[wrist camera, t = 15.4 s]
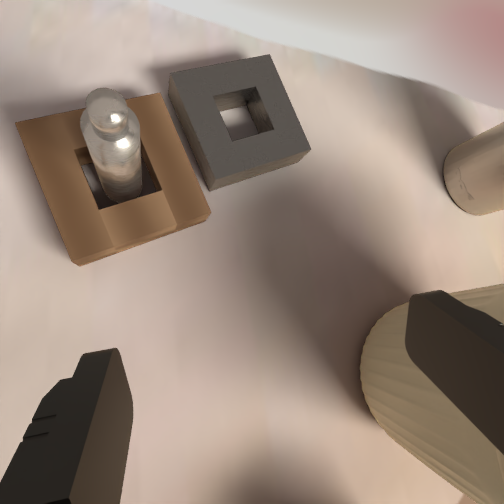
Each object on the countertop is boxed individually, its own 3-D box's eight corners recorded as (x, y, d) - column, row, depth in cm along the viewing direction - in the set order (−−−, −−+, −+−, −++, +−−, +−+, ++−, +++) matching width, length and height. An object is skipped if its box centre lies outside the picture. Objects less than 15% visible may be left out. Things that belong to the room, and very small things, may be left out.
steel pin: (133, 163, 29) (125, 72, 18) (147, 196, 29) (148, 126, 18) (96, 173, 28) (62, 83, 17) (110, 207, 28) (86, 141, 17)
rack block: (158, 112, 31) (160, 92, 28) (205, 221, 30) (211, 212, 28) (28, 142, 27) (14, 122, 24) (79, 266, 27) (71, 261, 24)
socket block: (259, 75, 35) (269, 54, 32) (297, 162, 34) (311, 149, 31) (168, 94, 31) (170, 73, 28) (209, 191, 31) (215, 179, 28)
